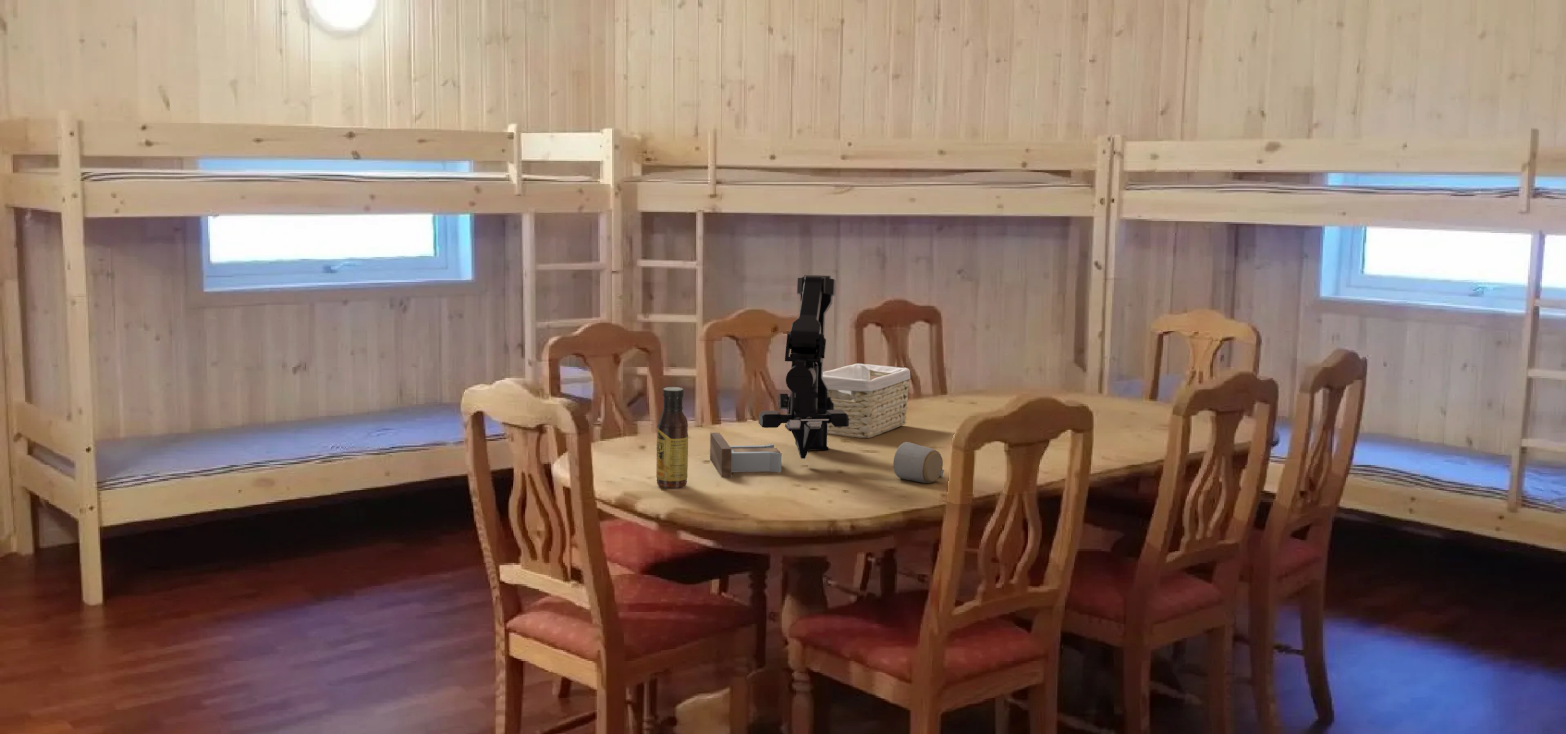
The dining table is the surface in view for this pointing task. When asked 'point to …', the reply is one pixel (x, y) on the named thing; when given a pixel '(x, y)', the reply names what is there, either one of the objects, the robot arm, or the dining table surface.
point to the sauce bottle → (672, 441)
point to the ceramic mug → (917, 463)
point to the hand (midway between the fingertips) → (802, 458)
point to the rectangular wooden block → (756, 450)
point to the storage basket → (868, 398)
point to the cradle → (755, 460)
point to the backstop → (720, 454)
